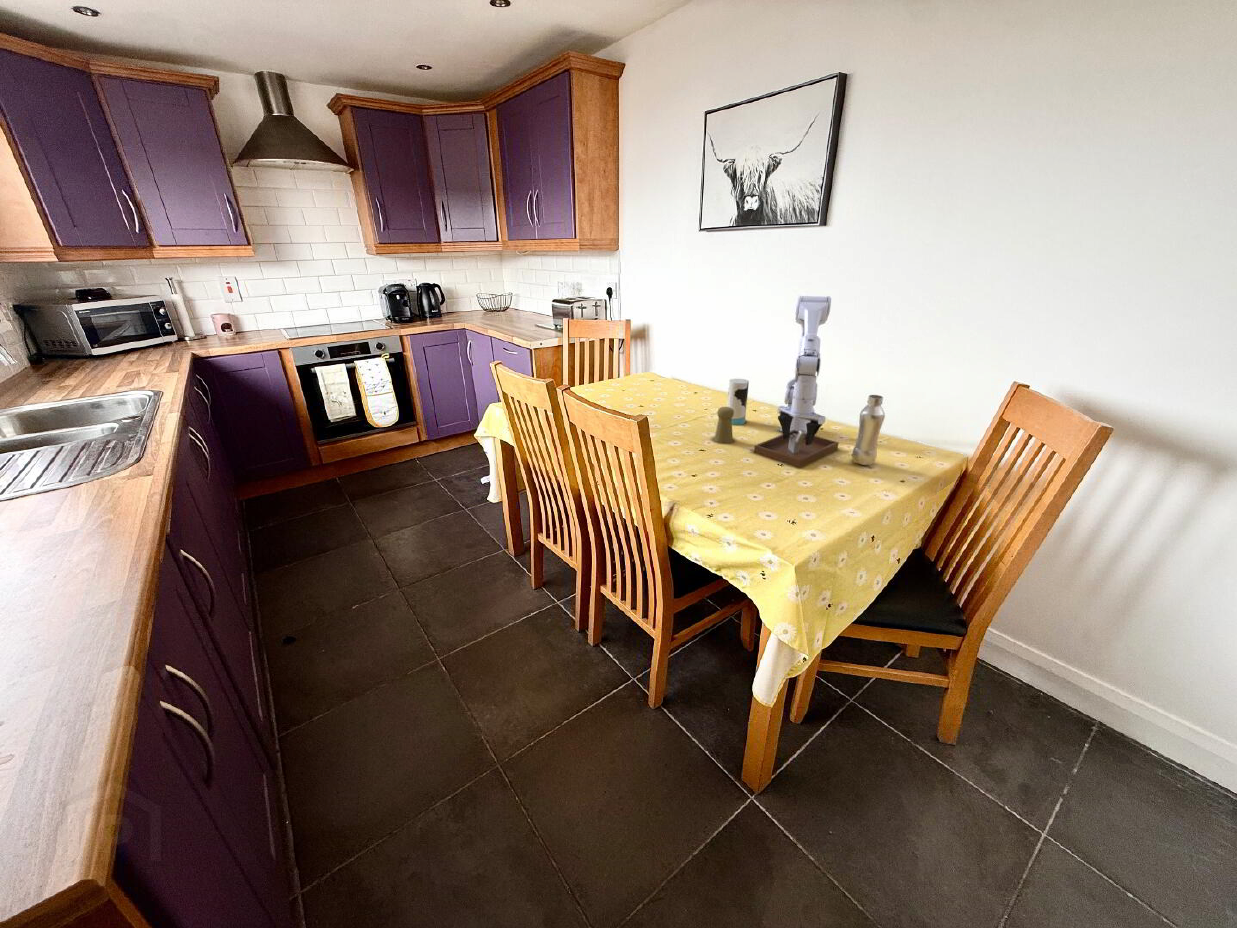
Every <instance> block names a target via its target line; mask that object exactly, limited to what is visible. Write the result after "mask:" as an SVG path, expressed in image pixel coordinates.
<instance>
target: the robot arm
mask: <svg viewBox="0 0 1237 928" xmlns="http://www.w3.org/2000/svg"><path fill="white" fill-rule="evenodd" d="M831 305H832V297H831V296H830V295H827V296H822V295H821V296H818V295H817V296H815V295H813V296H812V295H799V296H798V297H797V299H796V307H795V323H797V324H798V325H800V328H801V337H800V339H799V343H798V353H797V357H796V359H795V365H794V377H792V378H790V379H788V381H787V382H786V387H785V394H784V401H783V402H784V404H785V405H787V406H783V405H780V406H777V410H776V411H777V413H776V414H779V415H777V420H778V422H779V424H780V427H781V428H779V431H780V432H782V433H781V434H783V438H784V439H785V438H788V437H789V434H790V431H792V430H797V431H800V430H805V432H806V433H807V437H806V445H810V444H811V443H812V441H813V438H814V436H816V434H817V433H818V431H819V430H820V428H821V427H822V426H823V425H824V424H825V423H826V419H827V417H826V416H824V415H821V414H819V413H817V412H815V408H814V407H815V405H816V404H817V398H818V383H817V378H818V377H819V375H820V370H821V364H822V363H821V362H822V360H821V351H820V350H821V338H820V337H819V336H818V331H819V327H820V326H822V325H824V324H826V323H827V321H828V318H829V316H830V312H831Z"/></svg>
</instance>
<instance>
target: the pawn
mask: <svg viewBox="0 0 1237 928" xmlns="http://www.w3.org/2000/svg"><path fill="white" fill-rule="evenodd" d="M716 415H717V417H718V418H717V425H716V429H715V434H714V439H713V440H714V442H716V443H720V444H730V443H733V442H734V439H733V438H734V435H733V424H732V417H733V415H734V411H733V409H732V408H730V407H727V406H721V407H719V408H718V409H717V412H716Z"/></svg>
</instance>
